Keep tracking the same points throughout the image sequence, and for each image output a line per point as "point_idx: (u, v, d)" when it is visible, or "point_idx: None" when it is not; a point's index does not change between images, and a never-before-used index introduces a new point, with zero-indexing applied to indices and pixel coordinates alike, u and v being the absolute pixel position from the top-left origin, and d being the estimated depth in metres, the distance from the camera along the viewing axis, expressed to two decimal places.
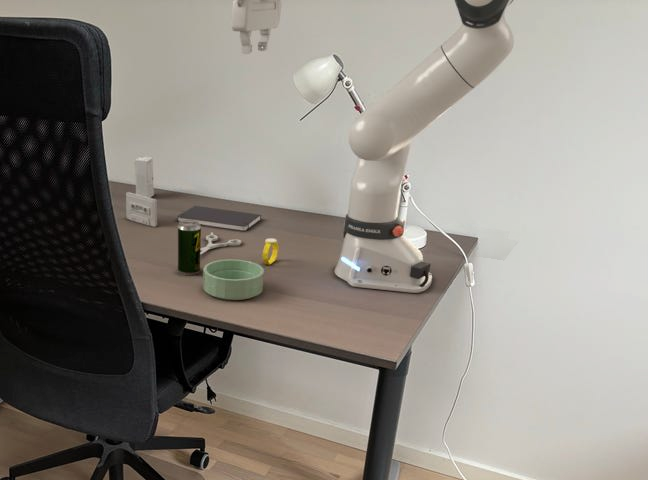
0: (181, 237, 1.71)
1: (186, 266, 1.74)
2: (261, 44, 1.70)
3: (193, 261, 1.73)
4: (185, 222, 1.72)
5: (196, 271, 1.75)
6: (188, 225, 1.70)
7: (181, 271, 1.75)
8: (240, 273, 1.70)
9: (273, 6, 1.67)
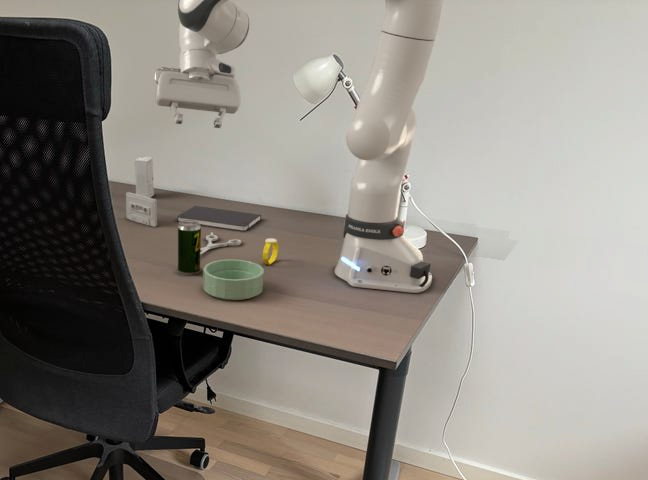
0: (181, 237, 1.71)
1: (186, 266, 1.74)
2: (215, 121, 1.75)
3: (193, 261, 1.73)
4: (185, 222, 1.72)
5: (196, 271, 1.75)
6: (188, 225, 1.70)
7: (181, 271, 1.75)
8: (240, 273, 1.70)
9: (225, 88, 1.76)
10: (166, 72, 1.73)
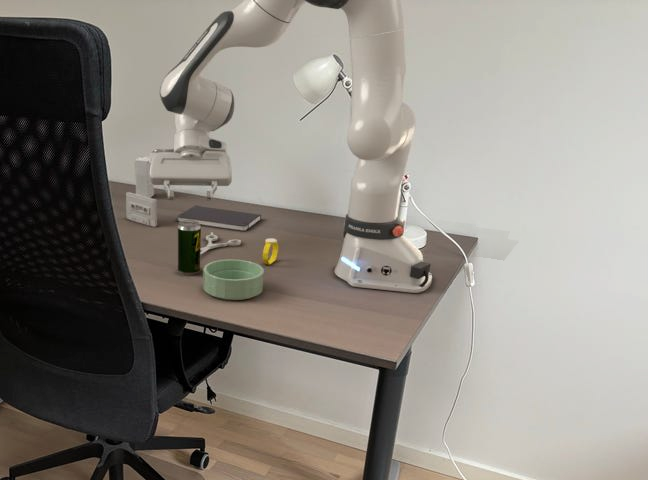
0: (181, 237, 1.71)
1: (186, 266, 1.74)
2: (207, 194, 1.80)
3: (193, 261, 1.73)
4: (185, 222, 1.72)
5: (196, 271, 1.75)
6: (188, 225, 1.70)
7: (181, 271, 1.75)
8: (240, 273, 1.70)
9: (216, 163, 1.81)
10: (158, 153, 1.81)
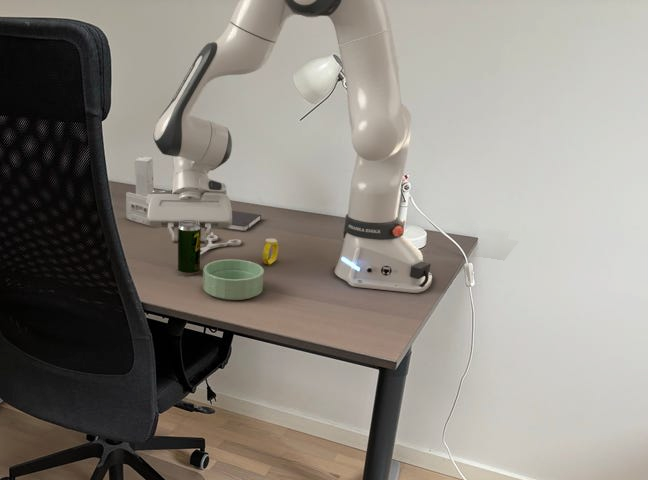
0: (181, 237, 1.71)
1: (185, 266, 1.74)
2: None
3: (193, 261, 1.73)
4: (185, 222, 1.72)
5: (196, 271, 1.75)
6: (188, 225, 1.70)
7: (181, 271, 1.75)
8: (240, 273, 1.70)
9: (216, 205, 1.75)
10: (156, 195, 1.76)
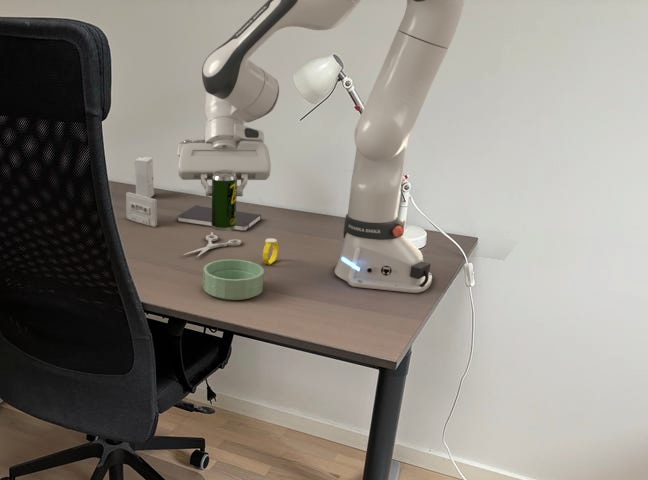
0: (215, 188, 1.58)
1: (220, 220, 1.60)
2: None
3: (229, 214, 1.60)
4: (220, 172, 1.59)
5: (232, 226, 1.61)
6: (223, 175, 1.56)
7: (215, 226, 1.61)
8: (240, 273, 1.70)
9: (253, 154, 1.62)
10: (188, 144, 1.62)
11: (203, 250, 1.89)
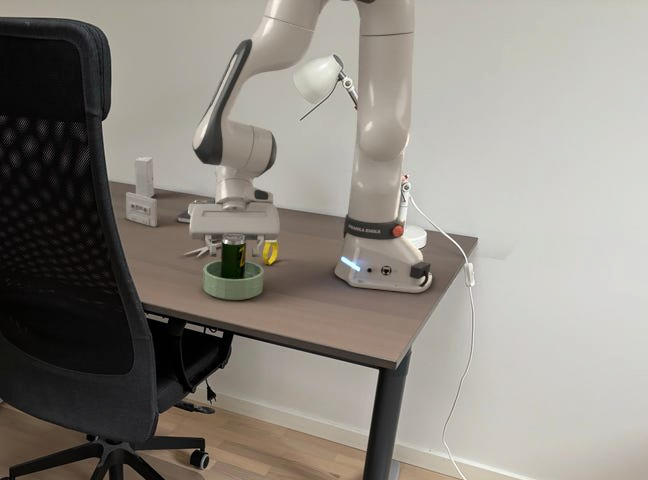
0: (225, 251, 1.61)
1: None
2: (253, 251, 1.64)
3: (238, 276, 1.63)
4: (229, 235, 1.62)
5: None
6: (233, 239, 1.60)
7: None
8: None
9: (262, 215, 1.65)
10: (199, 205, 1.65)
11: (203, 250, 1.89)
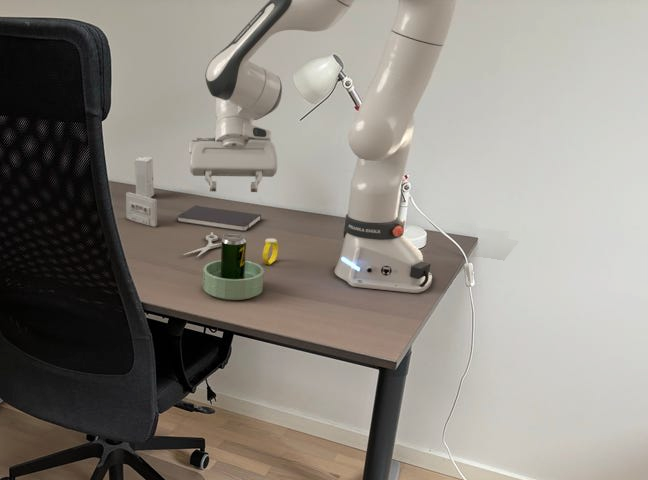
0: (225, 251, 1.61)
1: None
2: None
3: (238, 276, 1.63)
4: (229, 235, 1.62)
5: None
6: (233, 239, 1.60)
7: None
8: None
9: (260, 152, 1.71)
10: (199, 142, 1.72)
11: (203, 250, 1.89)
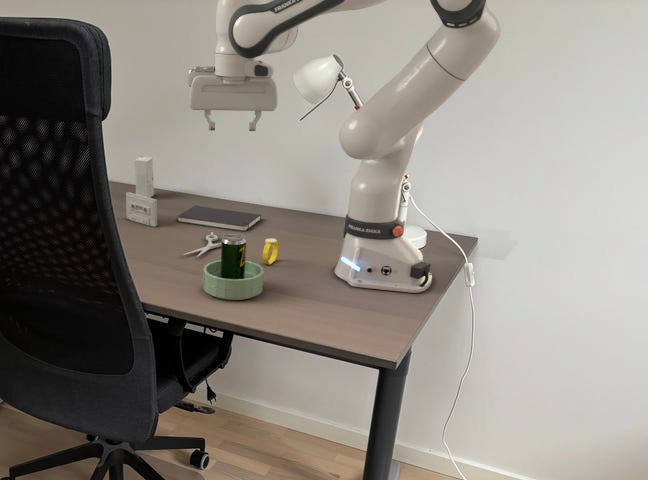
0: (225, 251, 1.61)
1: None
2: (250, 125, 1.72)
3: (238, 276, 1.63)
4: (229, 235, 1.62)
5: None
6: (233, 239, 1.60)
7: None
8: None
9: (261, 90, 1.67)
10: (198, 78, 1.66)
11: (203, 250, 1.89)
